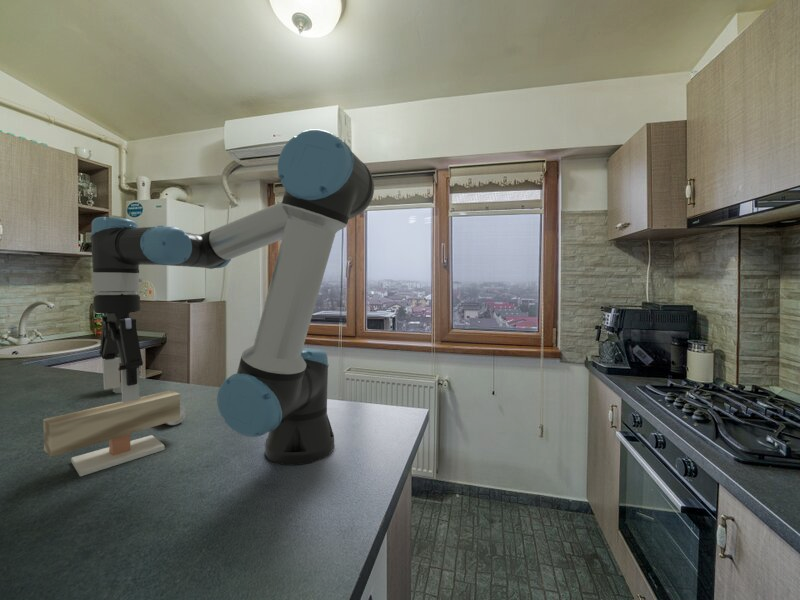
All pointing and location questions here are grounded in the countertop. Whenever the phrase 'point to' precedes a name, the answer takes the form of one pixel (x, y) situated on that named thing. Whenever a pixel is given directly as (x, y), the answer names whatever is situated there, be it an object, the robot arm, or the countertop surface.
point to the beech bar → (108, 422)
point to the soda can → (182, 415)
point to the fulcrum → (116, 453)
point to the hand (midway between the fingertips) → (120, 394)
